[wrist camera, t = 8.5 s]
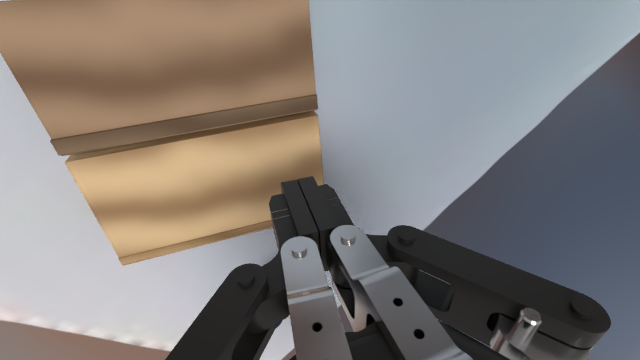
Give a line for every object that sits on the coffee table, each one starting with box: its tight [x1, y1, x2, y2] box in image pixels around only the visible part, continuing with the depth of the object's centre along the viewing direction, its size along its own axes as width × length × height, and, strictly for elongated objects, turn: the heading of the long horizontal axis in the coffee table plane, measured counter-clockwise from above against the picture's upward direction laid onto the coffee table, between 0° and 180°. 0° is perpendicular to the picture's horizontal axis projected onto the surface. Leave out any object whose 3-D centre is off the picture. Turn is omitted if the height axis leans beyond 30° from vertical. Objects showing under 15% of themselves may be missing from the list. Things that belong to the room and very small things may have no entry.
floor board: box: [0, 0, 318, 156], centre depth 24 cm, size 10×20×3 cm, turn 94°
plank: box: [65, 111, 324, 265], centre depth 30 cm, size 11×20×3 cm, turn 94°
